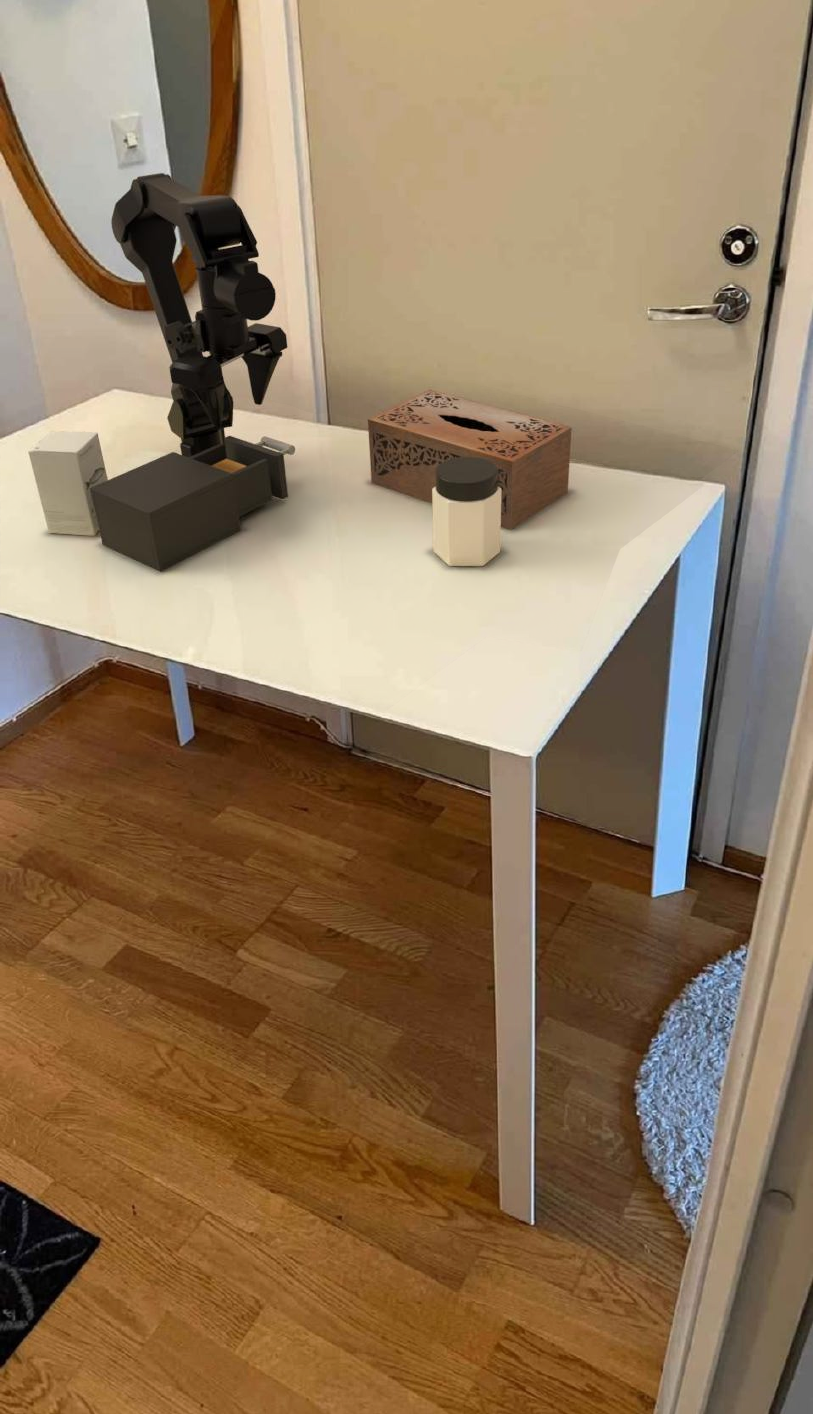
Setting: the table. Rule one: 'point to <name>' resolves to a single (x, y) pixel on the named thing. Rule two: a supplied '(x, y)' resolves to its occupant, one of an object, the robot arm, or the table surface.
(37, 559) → the table surface
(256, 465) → the dark brown drawer
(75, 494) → the white packaging box
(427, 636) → the table surface
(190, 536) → the brown drawer box
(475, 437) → the tissue box cover
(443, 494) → the jar
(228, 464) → the block
